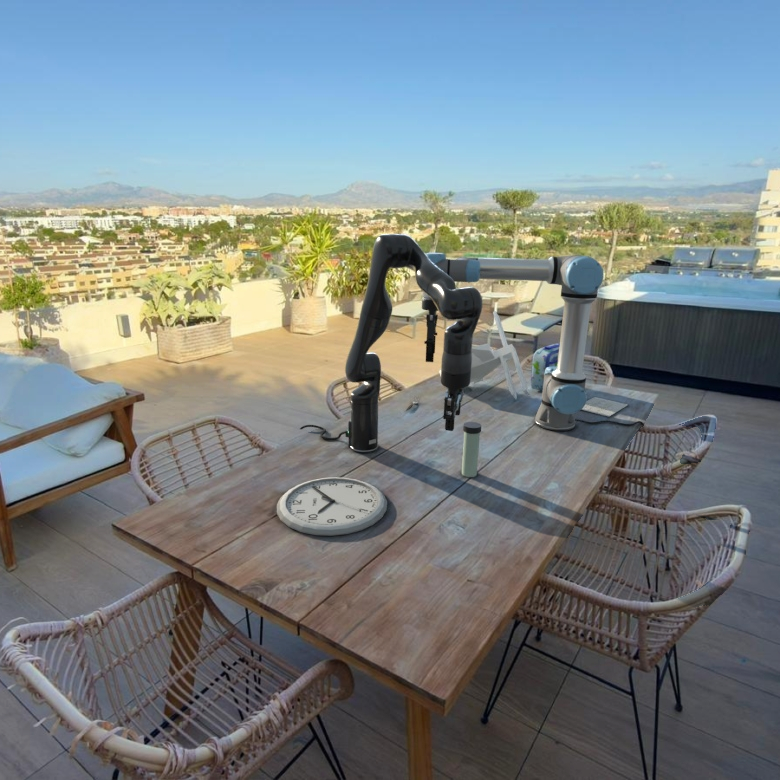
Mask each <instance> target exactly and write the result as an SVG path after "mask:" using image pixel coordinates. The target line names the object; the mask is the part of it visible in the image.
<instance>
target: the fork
mask: <svg viewBox="0 0 780 780" xmlns="http://www.w3.org/2000/svg"><path fill="white" fill-rule="evenodd" d="M420 399H421V397H420V396H415V397H414V398H413V400H412V404H410V405H408V407H407V408H406V410H405V411H409V410H411V409H412V408H413V406H414V405H415V404H419V402H420Z"/></svg>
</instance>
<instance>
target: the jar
mask: <svg viewBox="0 0 780 780" xmlns="http://www.w3.org/2000/svg"><path fill="white" fill-rule="evenodd" d="M480 437H481V432H480V433H477V434H470V433H466V432H464V431H463V442H462V443H463V445H462V458H461V459H462V461H461V475H462V476H463V477H466V478H475V477H476V476H477V474H478V461H479V448H480Z"/></svg>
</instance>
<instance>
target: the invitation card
mask: <svg viewBox="0 0 780 780" xmlns="http://www.w3.org/2000/svg"><path fill="white" fill-rule="evenodd" d="M628 406H629V404H627V403H623V402H618V401H614V400H609V399H605V398H601V397H596V396H593V397H592V398H590V399H587V401H586V404H585V406H584V407H583V408H582V409H581V410H580V411H584V412H587V413H593V414H596V415H600V416H604V417H608V418H609V417H611V416H613V415H614V414H616V413H617V412H619V411H621V410H623V409H624V408H626V407H628Z"/></svg>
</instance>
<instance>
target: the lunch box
mask: <svg viewBox="0 0 780 780" xmlns="http://www.w3.org/2000/svg"><path fill="white" fill-rule="evenodd" d="M559 346H560V343H553V344H550V345H547V346H546V345H545V346H544V347H541V348H538V349H537V350H536V351H535V352H534V354H533V357H532V362H531V371H530V372H531V374H530V387H531V389H533V390H539V391H543V382H544V373H545V369H546V368H547V367H553V366H557V364H558V355H559Z"/></svg>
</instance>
